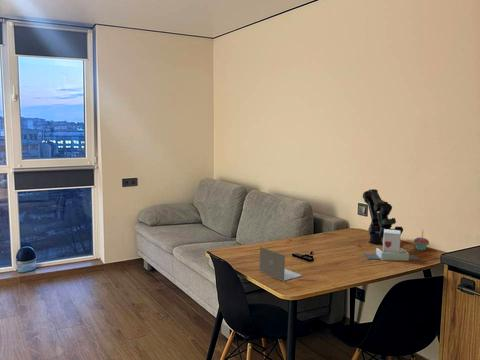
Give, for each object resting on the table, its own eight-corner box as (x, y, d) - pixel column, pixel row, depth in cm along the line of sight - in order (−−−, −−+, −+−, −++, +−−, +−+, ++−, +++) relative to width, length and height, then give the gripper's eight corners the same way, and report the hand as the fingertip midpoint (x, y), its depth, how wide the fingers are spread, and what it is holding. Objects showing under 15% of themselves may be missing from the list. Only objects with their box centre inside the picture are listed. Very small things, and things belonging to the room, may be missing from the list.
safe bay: (363, 254, 250) (364, 247, 250) (414, 255, 250) (414, 248, 249) (368, 259, 240) (369, 252, 240) (421, 260, 240) (421, 253, 239)
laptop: (302, 276, 212) (303, 250, 211) (283, 282, 204) (284, 255, 203) (277, 267, 226) (278, 242, 225) (259, 271, 219) (259, 246, 217)
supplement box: (382, 258, 244) (383, 232, 242) (382, 254, 252) (383, 228, 250) (399, 260, 240) (400, 233, 239) (399, 255, 249) (400, 230, 247)
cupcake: (415, 246, 269) (416, 227, 268) (429, 248, 265) (431, 229, 263) (411, 249, 262) (413, 230, 261) (426, 252, 257) (428, 232, 256)
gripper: (371, 212, 255) (375, 235, 245) (403, 213, 254) (408, 236, 245) (366, 222, 263) (371, 245, 254) (397, 223, 263) (403, 246, 254)
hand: (388, 243), depth 251 cm, fingers closed
